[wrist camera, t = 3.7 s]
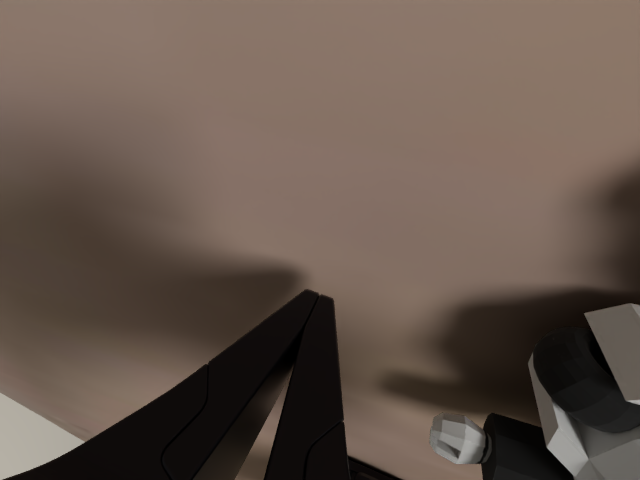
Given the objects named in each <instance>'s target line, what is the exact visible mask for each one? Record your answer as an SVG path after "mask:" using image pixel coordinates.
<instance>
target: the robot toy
mask: <svg viewBox="0 0 640 480" xmlns="http://www.w3.org/2000/svg"><path fill="white" fill-rule="evenodd" d="M584 314H585V317H586V319H587V321H588V323H589V325H590V327H591V329H592V331H591V330H588V329H585V328H580V327H563V328H557V329H555V330H553V331H550V332H548V333H547V334H546V335H545V336H544V337H543V338H542V339H541V340H540V341H539V342H538V343H536V345H535V348H534V350H533V353H532V355H531V357H530V360H529V362H528V366H529V371H530V375H531V380H532V384H533V389H534V393H535V397H536V402H537V406H538V411H539V415H540V420H541V424H542V428H541V427H538V426H534V425H531V424H528V423H525V422H521V421H518V420H515V419H511V418H508V417H505V416H502V415H498V414H495V413H491V414H490V415H488V417H487V419H486V421H485V423H484V427H483V429H482V428H480V427H479V426H478V425H476V424H475V423H474V422H472V421H471V420H470V419H468V418H467V417H466V416H464V415H456V414H449V413H441V414H439V415H437V416H435V417H434V419H433V426H431V430H430V441H429V443H430V445H431V446H432V448H433V450H434V451H435V453H437V454H439V455H441V456H442V457H444V458H446V459H448V460H450V461H451V462H453V463H455V464H480V463H481V466H482V475H483V480H640V305H636V304H632V303H629V304H624V305H619V306H615V307H610V308H606V309H601V310H596V311H592V312H587V313H584Z"/></svg>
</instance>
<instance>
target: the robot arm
mask: <svg viewBox="0 0 640 480" xmlns="http://www.w3.org/2000/svg"><path fill="white" fill-rule="evenodd" d="M292 370H293V371H292ZM291 372H292V375H291V378H290V382H289V386H288V390H287V393H286V397H285V401H284V405H283V409H282V412H281V416H280V420H279V424H278V427H277V431H276V435H275V439H274V443H273V446H272V450H271V454H270V458H269V461H268V465H267V469H266V473H265V477H264V480H394V479H391V478H389V477H387V476H385V475H382V474H380V473H378V472H376V471H373V470H371V469H369V468H366V467H364V466H362V465H360V464H357V463H355V462H353V461H351V460H348V456H347V447H346V437H345V425H344V422H343V420H344V415H343V403H342V391H341V379H340V367H339V355H338V343H337V331H336V319H335V307H334V300H333V298H331V297H328V296H325V295H322V294H321V295H320V296H319V294H318V293H317V292H314V291H311V290H309V289H306V290H304V291H303V292H301V293H300V294H299V295H297V296H296V297H295V298H293V299H292V300H291V301H289V302H288V303H287V304H285V305H284V306H283V307H281V308H280V309H279V310H277V311H276V312H275V313H273V314H272V315H271V316H269V317H268V318H267V319H265V320H264V321H263V322H261V323H260V324H259V325H257V326H256V327H255V328H253V329H252V330H251V331H249V332H248V333H247V334H245V335H244V336H243V337H241V338H240V339H239V340H237V341H236V342H235V343H233V344H232V345H231V346H229V347H228V348H227V349H225V350H224V351H223V352H221V353H220V354H219V355H217V356H216V357H215V358H213V359H212V360H211V361H209V362H208V365H207V364H205V365H204V366H202V367H201V368H200V369H198V370H197V371H196V372H194V373H193V374H192V375H190V376H189V377H188V378H186V379H185V380H183V381H182V382H181V383H179V384H178V385H176V386H175V387H173V388H172V389H171V390H169V391H168V392H166V393H164V394H163V395H161V396H160V397H158V398H157V399H155V400H153V401H152V402H150V403H149V404H147V405H146V406H144V407H142V408H141V409H139V410H137V411H136V412H134V413H132V414H131V415H129V416H128V417H126V418H124V419H123V420H121V421H119V422H118V423H116V424H114V425H113V426H111V427H109V428H108V429H106V430H105V431H103V432H101V433H100V434H98V435H96V436H95V437H93V438H91V439H90V440H88V441H87V442H85V443H84V444H82V445H80V446H78V447H76V448H75V449H73V450H71V451H70V452H68V453H66V454H64V455H62V456H60V457H58V458H56V459H54V460H52V461H50V462H48V463H46V464H43V465H41V466H39V467H36V468H34V469H31V470H29V471H26V472H23V473H21V474H18V475H15V476H12V477H9V478H6V479H3V480H234V479H235V478H236V476H237V474H238V472H239V470H240V468H241V466H242V464H243V462H244V461H245V459H246V457H247V455H248V453H249V451H250V449H251V447H252V446H253V444H254V442H255V440H256V438H257V436H258V434H259V432H260V430H261V429H262V427H263V425H264V423H265V421H266V419H267V417H268V415H269V414H270V412H271V410H272V408H273V406H274V404H275V402H276V400H277V399H278V397H279V395H280V393H281V391H282V389H283V387H284V385H285V383H286V382H287V380H288V378H289V376H290V374H291Z"/></svg>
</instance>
